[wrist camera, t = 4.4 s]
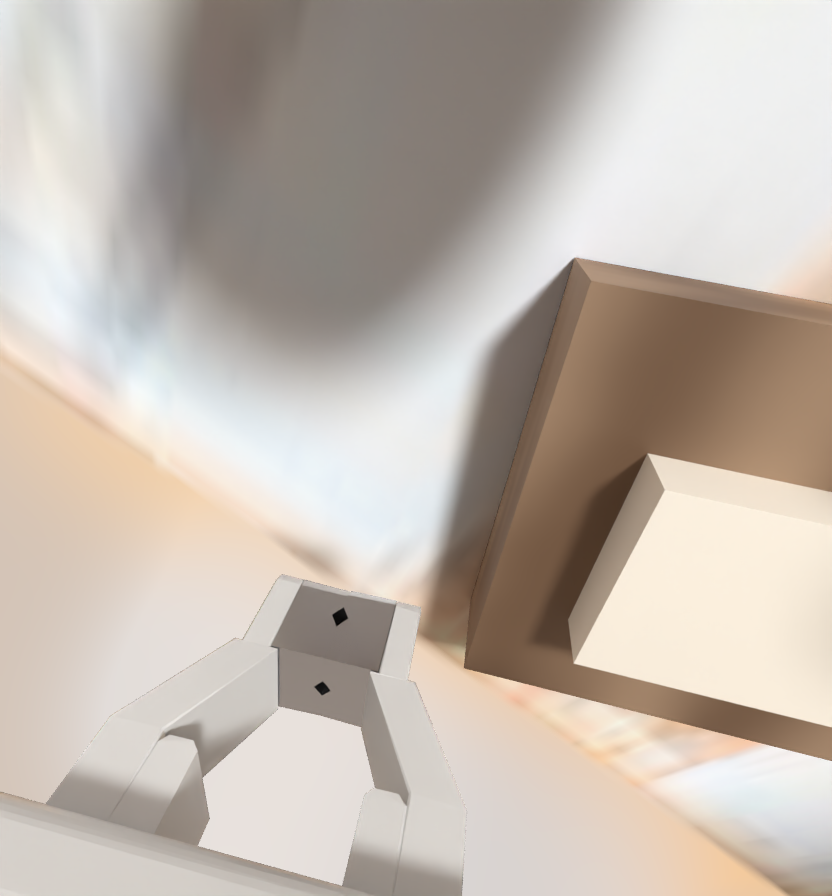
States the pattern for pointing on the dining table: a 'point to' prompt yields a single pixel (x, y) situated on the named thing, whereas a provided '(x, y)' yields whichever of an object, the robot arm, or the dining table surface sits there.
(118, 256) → the dining table surface
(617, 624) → the tile
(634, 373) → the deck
